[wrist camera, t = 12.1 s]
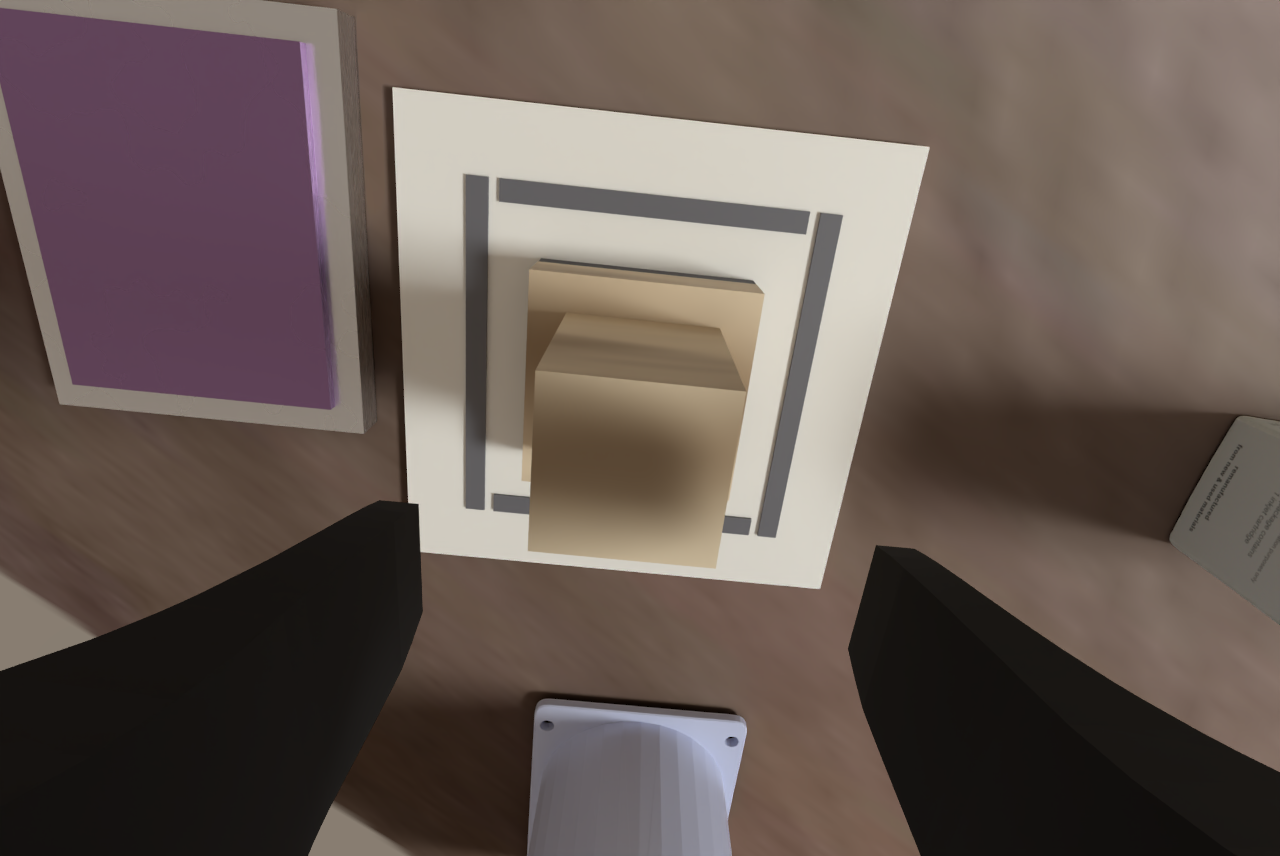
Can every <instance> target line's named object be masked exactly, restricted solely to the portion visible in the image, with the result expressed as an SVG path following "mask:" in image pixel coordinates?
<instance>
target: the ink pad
mask: <svg viewBox="0 0 1280 856" xmlns="http://www.w3.org/2000/svg"><path fill="white" fill-rule="evenodd" d="M0 170H1V174H2V178H3V182H4V186H5V190H6V193H7V197H8V201H9V205H10V209H11V213H12V217H13V221H14V225H15V229H16V233H17V237H18V241H19V245H20V249H21V253H22V257H23V261H24V265H25V269H26V273H27V277H28V281H29V285H30V289H31V293H32V297H33V301H34V305H35V309H36V313H37V317H38V321H39V325H40V328H41V332H42V336H43V340H44V344H45V348H46V352H47V356H48V360H49V364H50V368H51V372H52V376H53V380H54V384H55V388H56V392H57V396H58V400H59V404H64V405H74V406H84V407H95V408H105V409H115V410H125V411H136V412H146V413H156V414H166V415H177V416H187V417H197V418H207V419H218V420H228V421H238V422H249V423H259V424H269V425H279V426H290V427H300V428H310V429H320V430H331V431H341V432H351V433H361V434H364V433H365V432H366V431H367V430H368V429H369V428H370V427H372V426H373V425H374V424H375V423H376V422H377V417H376V399H375V381H374V363H373V345H372V327H371V309H370V291H369V273H368V255H367V237H366V219H365V201H364V183H363V166H362V148H361V130H360V112H359V94H358V76H357V58H356V40H355V22H354V17H353V16H350V15H348V14H346V13H344V12H342V11H340V10H338V9H333V8H324V7H316V6H307V5H298V4H289V3H281V2H272V1H263V0H0Z"/></svg>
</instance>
